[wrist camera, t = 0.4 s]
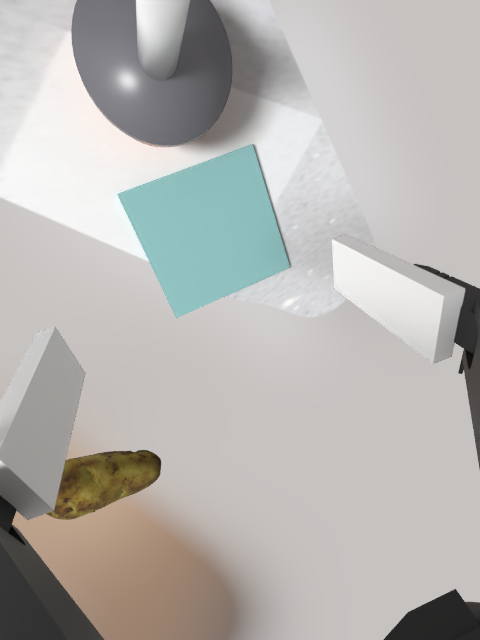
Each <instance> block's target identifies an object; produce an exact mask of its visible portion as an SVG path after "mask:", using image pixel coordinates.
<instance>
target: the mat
mask: <svg viewBox="0 0 480 640" xmlns="http://www.w3.org/2000/svg"><path fill="white" fill-rule="evenodd" d="M118 196H119V198H120V201H121V203H122V205H123V207H124V209H125V211H126V213H127V215H128V217H129V220H130V222H131V224H132V226H133V228H134V230H135V232H136V234H137V236H138V238H139V241H140V243H141V245H142V247H143V249H144V251H145V253H146V255H147V257H148V260H149V262H150V264H151V266H152V268H153V270H154V272H155V274H156V276H157V278H158V281H159V283H160V285H161V287H162V289H163V291H164V293H165V295H166V297H167V300H168V302H169V304H170V306H171V308H172V310H173V312H174V314H175V316H176V318H177V317H179V316H181V315H184V314H186V313H188V312H191V311H193V310H195V309H197V308H200V307H202V306H204V305H206V304H209V303H211V302H213V301H215V300H218V299H220V298H222V297H224V296H227V295H229V294H231V293H233V292H236V291H238V290H240V289H242V288H245V287H247V286H249V285H251V284H254V283H256V282H258V281H260V280H262V279H265V278H267V277H269V276H271V275H274V274H276V273H278V272H280V271H283V270H285V269H287V268H289V267H290V266H289V262H288V259H287V256H286V252H285V249H284V246H283V242H282V239H281V236H280V233H279V229H278V226H277V223H276V219H275V216H274V213H273V209H272V206H271V203H270V200H269V196H268V193H267V190H266V186H265V183H264V180H263V176H262V173H261V170H260V167H259V163H258V160H257V157H256V153H255V150H254V147H253V144H252V145H249V146H246V147H243V148H241V149H238V150H235V151H233V152H230V153H227V154H225V155H222V156H219V157H216V158H214V159H211V160H208V161H206V162H203V163H200V164H197V165H195V166H192V167H189V168H187V169H184V170H181V171H179V172H176V173H173V174H170V175H168V176H165V177H162V178H160V179H157V180H154V181H152V182H149V183H146V184H143V185H141V186H138V187H135V188H133V189H130V190H127V191H124V192H122V193H119V194H118Z"/></svg>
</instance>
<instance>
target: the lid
mask: <svg viewBox="0 0 480 640" xmlns="http://www.w3.org/2000/svg"><path fill="white" fill-rule="evenodd" d="M72 46H73V52H74V57H75V61H76V65H77V68H78V71H79V74H80V76H81V79H82V81H83V84H84V86H85V88H86V90H87V92H88V93H89V95H90V97H91V99H92V100H93V102H94V103H95V105H96V106H97V108H98V109H99V110H100V111H101V112H102V114H103V115H104V116H105V117H106V118H107V119H108V120H109V121H110V122H111V123H112V124H113V125H114V126H116V127H117V128H118V129H120V130H121V131H122V132H124V133H125V134H127V135H129V136H130V137H132V138H134V139H136V140H139V141H141V142H144V143H147V144H150V145H156V146H167V147H171V146H179V145H183V144H186V143H189V142H191V141H193V140H196V139H197V138H199V137H200V136H202V135H203V134H204V133H206V132H207V131H208V130H209V129H210V128H211V127H212V125H213V124H214V123H215V122H216V120H217V119H218V117H219V116H220V114H221V113H222V111H223V109H224V107H225V104H226V102H227V99H228V96H229V93H230V87H231V82H232V57H231V50H230V45H229V41H228V37H227V34H226V31H225V28H224V25H223V23H222V21H221V19H220V17H219V15H218V13H217V11H216V9H215V8H214V6H213V4H212V3H211V1H210V0H77V2H76V5H75V9H74V13H73V19H72Z"/></svg>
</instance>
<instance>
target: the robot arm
mask: <svg viewBox="0 0 480 640" xmlns="http://www.w3.org/2000/svg"><path fill="white" fill-rule="evenodd" d="M332 252H333V271H334V289H335V290H337V291H338V292H339V293H341V294H342V295H343V296H345V297H346V298H347V299H349V300H350V301H351V302H353V303H354V304H355V305H356V306H358V307H359V308H360V309H362V310H363V311H364V312H366V313H367V314H368V315H369V316H371V317H372V318H373V319H375V320H376V321H377V322H379V323H380V324H381V325H383V326H384V327H386V328H387V329H388V330H389V331H391V332H392V333H393V334H394V335H396V336H397V337H398V338H400V339H401V340H402V341H404V342H405V343H406V344H408V345H409V346H410V347H412V348H413V349H414V350H416V351H417V352H418V353H419V354H421V355H422V356H423V357H425V358H426V359H427V360H429V361H430V362H431V363H433V364H434V363H436V362H439V361H442V360H444V359H447V358H449V357H452V353H453V348H454V343H456V344H458V345H459V346H461V347H462V348H464V351H463V355H462V360H461V364H460V369H459V373H460V374H462V373H463V370H464V372H465V379H466V384H467V391H468V398H469V404H470V410H471V417H472V423H473V429H474V436H475V442H476V448H477V455H478V461H479V467H480V289H479V288H477V287H475V286H472V285H470V284H468V283H465V282H463V281H461V280H458V279H456V278H454V277H449V275H447V274H445V273H440V271H438V270H436V269H433V268H431V267H428V266H423V265H418V264H410V263H408V262H406V261H404V260H402V259H399V258H397V257H395V256H393V255H391V254H389V253H386V252H384V251H382V250H380V249H378V248H375V247H373V246H371V245H369V244H367V243H364V242H362V241H360V240H358V239H356V238H353V237H351V236H349V235H347V234H345V235H342V236H339V237H336V238H333V239H332ZM84 378H85V371H84V370H83V368H82V367H81V365H80V364H79V362H78V361H77V359H76V357H75V356H74V354H73V353H72V351H71V350H70V348H69V347H68V345H67V344H66V342H65V341H64V339H63V337H62V336H61V334H60V333H59V331H58V330H57V328H56V327H52V328H49V329H45V330H42V331H39V332H37V333H36V336H35V337H34V339H33V341H32V343H31V345H30V347H29V349H28V350H27V352H26V354H25V356H24V358H23V360H22V362H21V364H20V366H19V367H18V369H17V371H16V373H15V375H14V377H13V379H12V380H11V382H10V384H9V386H8V388H7V390H6V392H5V394H4V396H3V397H2V399H1V401H0V640H104V639H103V637H102V636H101V635H100V634H99V633H98V631H97V630H96V628H95V627H94V626H93V625H92V623H91V622H90V621H89V620H88V618H87V617H86V616H85V614H84V613H83V612H82V610H81V609H80V608H79V607H78V605H77V604H76V603H75V601H74V600H73V599H72V598H71V596H70V595H69V594H68V592H67V591H66V590H65V589H64V588H63V586H62V585H61V584H60V582H59V581H58V580H57V579H56V577H55V576H54V575H53V573H52V572H51V571H50V569H49V568H48V567H47V566H46V564H45V563H44V562H43V561H42V559H41V558H40V557H39V555H38V554H37V553H36V551H35V550H34V549H33V548H32V546H31V545H30V544H29V542H28V541H27V540H26V539H25V538H24V536H23V535H22V534H21V532H20V531H19V530H18V529H17V528H16V527H14V526H13V525H12V522H13V518H14V515H15V513H16V511H17V512H19V513H20V514H21V515H22V516H24V517H25V518H26V519H27V520H30V519H32V518H35V517H37V516H40V515H43V514H45V513H48V512H51V511H53V510H54V508H55V504H56V499H57V495H58V491H59V486H60V482H61V478H62V473H63V469H64V465H65V460H66V456H67V452H68V447H69V442H70V438H71V434H72V430H73V426H74V421H75V417H76V413H77V408H78V404H79V399H80V395H81V391H82V386H83V382H84ZM384 640H480V603H478V602H464V600H463V599H462V597H461V596H460V595H459V593H458V592H457V590H456V589H455V590H453V591H450V592H448V593H446V594H444V595H442V596H440V597H438V598H436V599H434V600H432V601H430V602H428V603H426V604H424V605H422V606H420V607H418V608H416V609H414V610H412V611H410V612H408V613H407V614H406V615H405V616H404V617H403V618H402V620H401V621H400V622H399V623H398V624H397V625H396V627H394V629H393V630H392V631H391V632H390V633H389V634H388V635H387V636H386V638H385V639H384Z"/></svg>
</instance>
